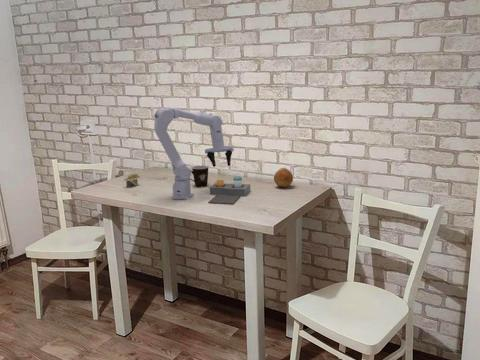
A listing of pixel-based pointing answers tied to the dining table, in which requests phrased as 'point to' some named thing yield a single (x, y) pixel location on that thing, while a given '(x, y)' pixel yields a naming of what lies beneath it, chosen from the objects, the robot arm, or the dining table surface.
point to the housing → (230, 190)
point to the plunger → (220, 183)
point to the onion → (283, 177)
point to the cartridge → (237, 182)
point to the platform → (132, 180)
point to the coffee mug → (200, 175)
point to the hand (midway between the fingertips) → (221, 165)
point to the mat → (224, 199)
